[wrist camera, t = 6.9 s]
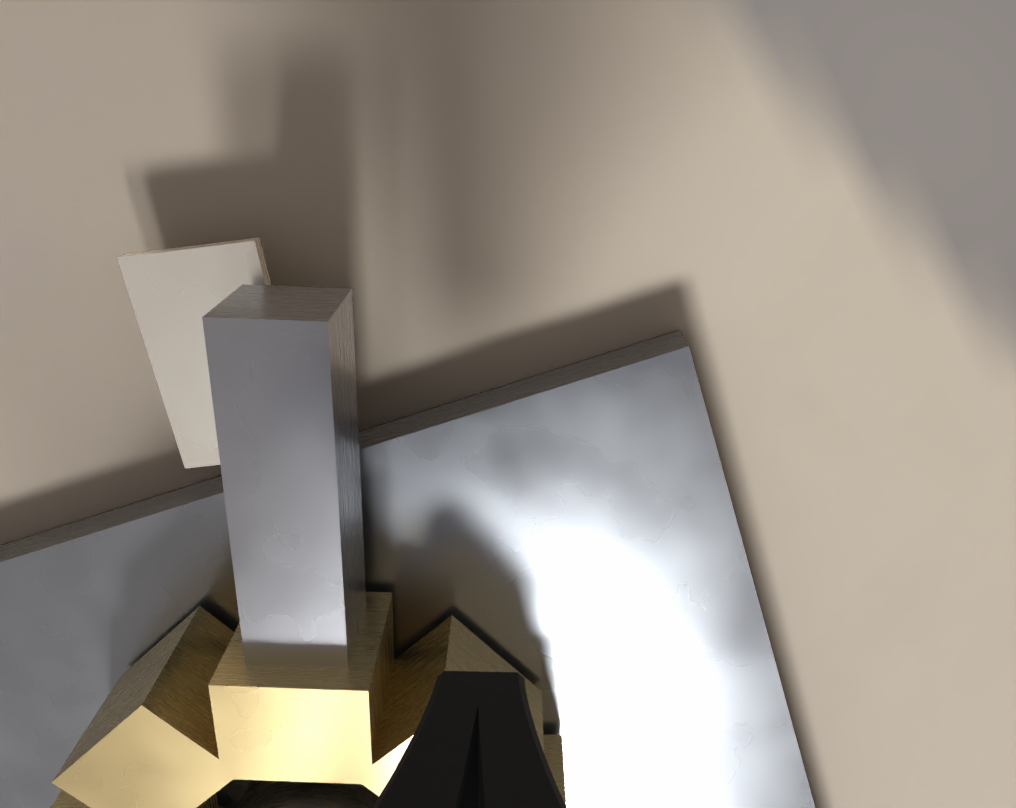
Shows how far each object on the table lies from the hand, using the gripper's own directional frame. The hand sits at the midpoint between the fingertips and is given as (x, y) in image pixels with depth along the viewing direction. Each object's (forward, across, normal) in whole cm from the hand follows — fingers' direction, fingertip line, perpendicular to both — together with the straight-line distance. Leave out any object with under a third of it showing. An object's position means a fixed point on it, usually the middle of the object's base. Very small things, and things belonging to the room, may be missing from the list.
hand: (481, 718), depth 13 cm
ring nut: (+5, +4, +3) cm, 7 cm away
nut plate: (+6, +5, +4) cm, 8 cm away
